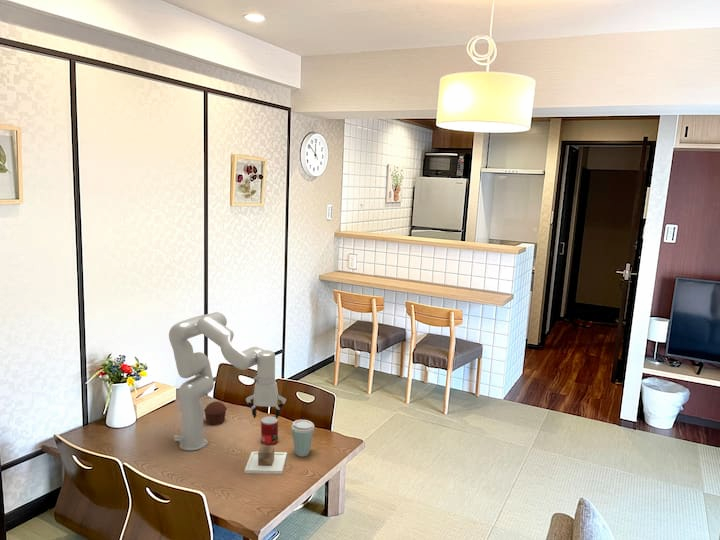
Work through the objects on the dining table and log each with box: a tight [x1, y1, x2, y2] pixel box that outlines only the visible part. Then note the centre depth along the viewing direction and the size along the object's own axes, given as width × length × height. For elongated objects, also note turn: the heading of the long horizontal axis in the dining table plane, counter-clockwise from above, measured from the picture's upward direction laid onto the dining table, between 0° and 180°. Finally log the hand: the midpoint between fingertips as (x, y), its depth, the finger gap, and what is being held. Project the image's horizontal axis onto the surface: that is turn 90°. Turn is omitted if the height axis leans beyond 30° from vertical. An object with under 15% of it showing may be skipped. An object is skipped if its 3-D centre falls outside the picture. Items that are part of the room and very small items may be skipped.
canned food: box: [260, 415, 279, 446], centre depth 259 cm, size 8×8×11 cm
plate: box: [244, 451, 288, 475], centre depth 239 cm, size 16×16×1 cm
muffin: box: [203, 401, 228, 426], centre depth 279 cm, size 12×11×10 cm
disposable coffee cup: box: [290, 419, 315, 457], centre depth 248 cm, size 11×11×15 cm
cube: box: [257, 445, 275, 466], centre depth 239 cm, size 6×6×6 cm
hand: (266, 416), depth 236 cm, fingers open, 9 cm apart
